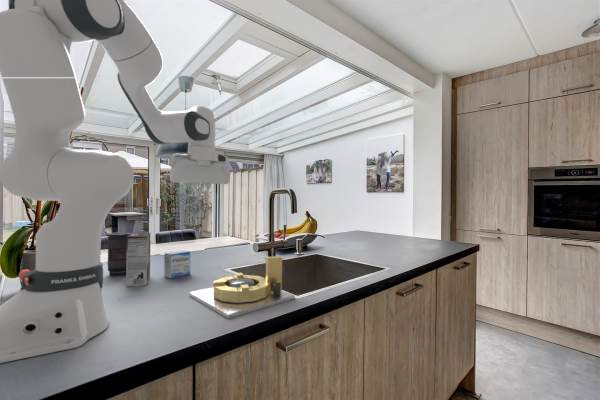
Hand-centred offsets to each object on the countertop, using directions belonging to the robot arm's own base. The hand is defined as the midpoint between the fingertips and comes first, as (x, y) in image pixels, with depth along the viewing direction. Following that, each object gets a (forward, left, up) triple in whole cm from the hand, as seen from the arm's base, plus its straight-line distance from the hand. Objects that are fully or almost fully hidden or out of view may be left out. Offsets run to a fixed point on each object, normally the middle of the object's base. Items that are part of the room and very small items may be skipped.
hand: (201, 196), depth 104 cm
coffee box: (-16, +12, -29) cm, 35 cm away
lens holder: (+3, -24, -28) cm, 37 cm away
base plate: (+2, -23, -29) cm, 37 cm away
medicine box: (-3, +12, -29) cm, 32 cm away
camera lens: (-18, +27, -29) cm, 44 cm away
